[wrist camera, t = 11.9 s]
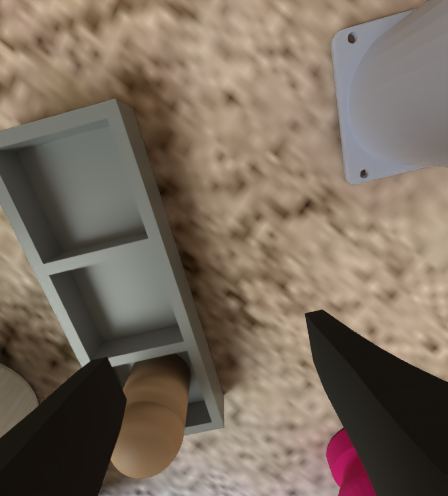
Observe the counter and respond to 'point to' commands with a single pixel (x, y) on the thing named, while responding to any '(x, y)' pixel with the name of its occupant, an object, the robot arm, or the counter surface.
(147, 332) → the tray
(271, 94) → the counter surface
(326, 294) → the counter surface
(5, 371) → the ramekin
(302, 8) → the counter surface
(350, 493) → the pepper mill
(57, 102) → the counter surface
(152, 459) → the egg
